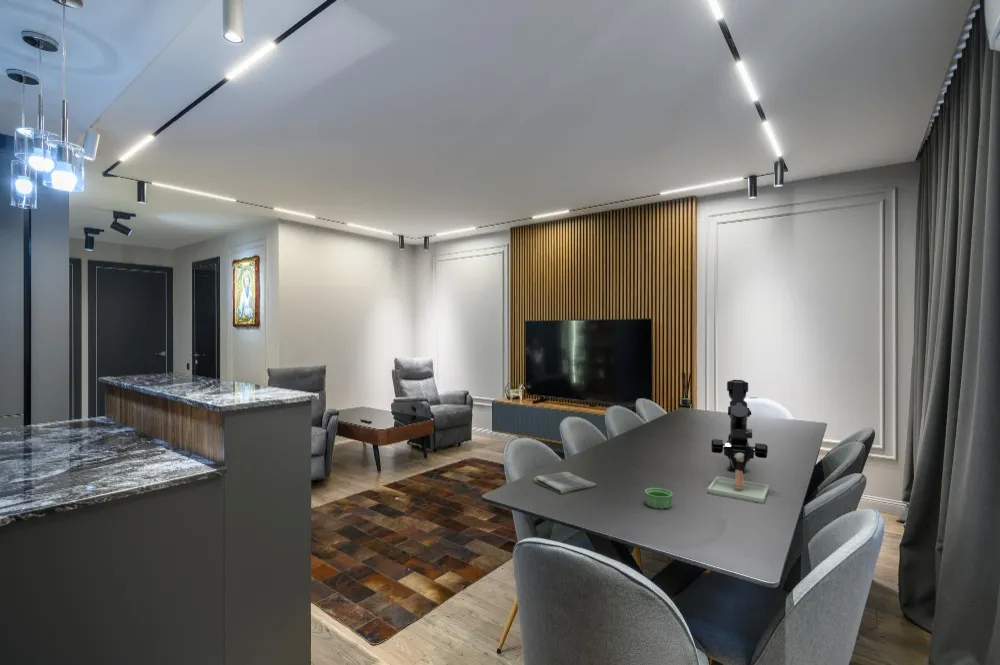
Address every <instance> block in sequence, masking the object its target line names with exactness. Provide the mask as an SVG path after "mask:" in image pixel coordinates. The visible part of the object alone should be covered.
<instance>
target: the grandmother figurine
mask: <svg viewBox="0 0 1000 665" xmlns="http://www.w3.org/2000/svg"><path fill="white" fill-rule="evenodd" d="M734 457H735V458H736V460H737V462H736V466H735V471H734V473H735V474H734V475H735V478H734V479H735V484H734V488H737V489H742V486H744V481H745V478H744V473H743V472H742V462H743V461H744V458H743V457H744V454H743V453H740V452H739V453H737V454H736V455H735V456H734Z"/></svg>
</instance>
